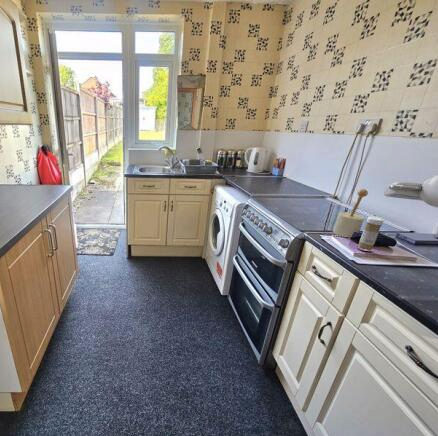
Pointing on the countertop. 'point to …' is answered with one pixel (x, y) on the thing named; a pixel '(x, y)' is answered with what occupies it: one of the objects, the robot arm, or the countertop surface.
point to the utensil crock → (350, 219)
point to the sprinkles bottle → (370, 232)
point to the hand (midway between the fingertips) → (422, 197)
